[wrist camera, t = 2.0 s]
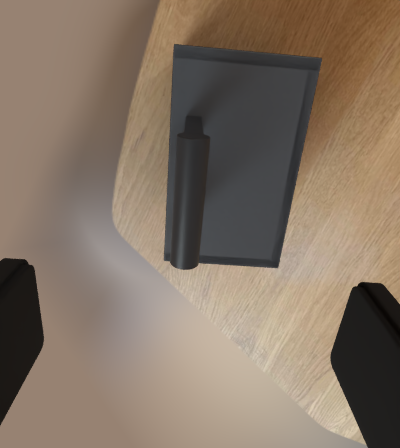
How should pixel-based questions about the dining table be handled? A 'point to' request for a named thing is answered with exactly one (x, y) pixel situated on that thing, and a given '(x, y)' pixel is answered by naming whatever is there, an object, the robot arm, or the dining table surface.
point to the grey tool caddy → (234, 153)
